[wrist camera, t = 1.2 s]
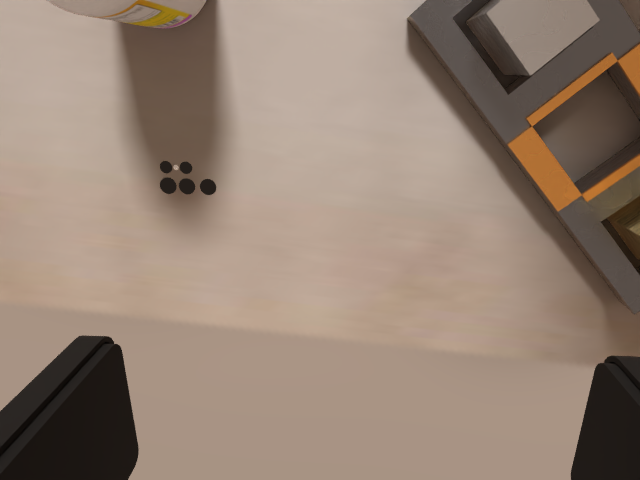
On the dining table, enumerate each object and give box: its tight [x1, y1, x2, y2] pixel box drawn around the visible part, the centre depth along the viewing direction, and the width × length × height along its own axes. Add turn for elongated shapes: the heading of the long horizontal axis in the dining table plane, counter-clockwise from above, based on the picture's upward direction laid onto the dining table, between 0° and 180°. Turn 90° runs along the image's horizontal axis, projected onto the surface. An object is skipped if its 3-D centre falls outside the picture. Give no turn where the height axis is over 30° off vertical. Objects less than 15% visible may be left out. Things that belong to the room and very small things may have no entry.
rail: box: [407, 0, 640, 314], centre depth 29 cm, size 9×25×2 cm, turn 41°
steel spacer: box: [466, 0, 600, 76], centre depth 26 cm, size 4×4×5 cm
